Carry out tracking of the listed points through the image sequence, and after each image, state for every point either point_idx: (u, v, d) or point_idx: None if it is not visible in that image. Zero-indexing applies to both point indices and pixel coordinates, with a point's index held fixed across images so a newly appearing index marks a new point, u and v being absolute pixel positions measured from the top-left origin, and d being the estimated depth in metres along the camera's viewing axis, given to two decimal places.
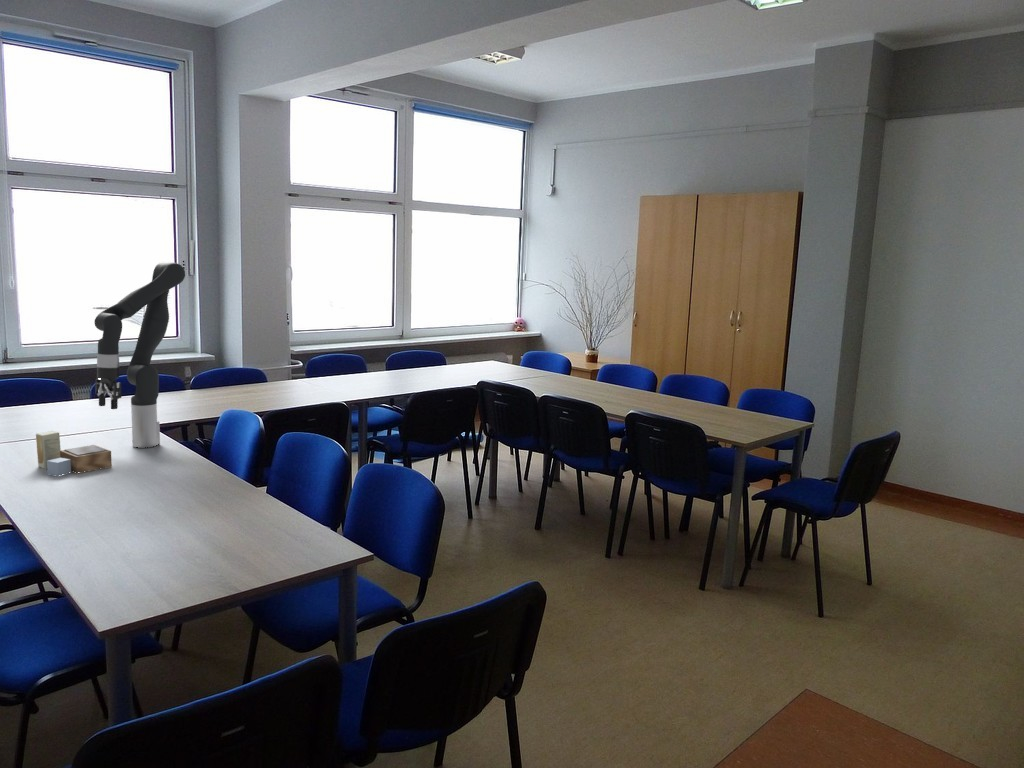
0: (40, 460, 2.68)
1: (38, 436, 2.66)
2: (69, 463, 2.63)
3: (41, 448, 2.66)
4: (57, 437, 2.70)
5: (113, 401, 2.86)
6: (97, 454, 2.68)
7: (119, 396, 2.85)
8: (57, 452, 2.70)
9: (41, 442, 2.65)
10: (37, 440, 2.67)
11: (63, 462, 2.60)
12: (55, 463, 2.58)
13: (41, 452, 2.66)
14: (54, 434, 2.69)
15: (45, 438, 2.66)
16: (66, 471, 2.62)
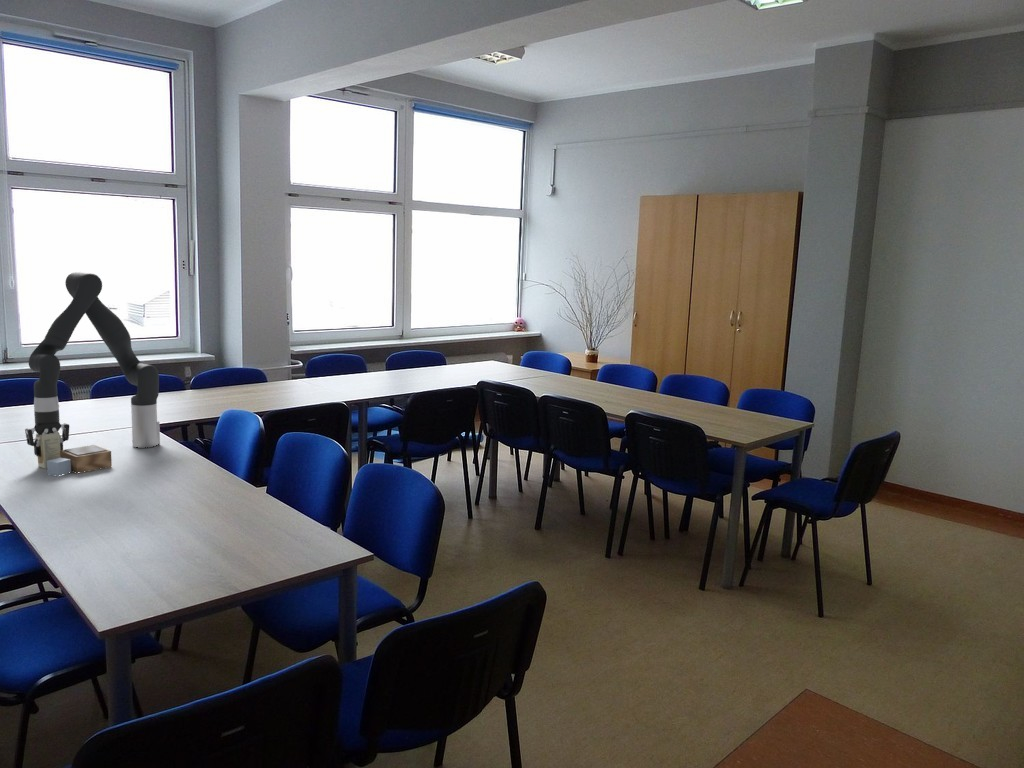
0: (40, 460, 2.68)
1: (38, 436, 2.66)
2: (70, 463, 2.63)
3: (41, 448, 2.66)
4: (57, 437, 2.70)
5: (62, 444, 2.72)
6: (97, 454, 2.68)
7: None
8: (57, 452, 2.70)
9: (41, 442, 2.65)
10: None
11: (63, 462, 2.60)
12: (55, 463, 2.58)
13: (41, 451, 2.66)
14: (54, 434, 2.69)
15: (45, 438, 2.66)
16: (66, 471, 2.62)
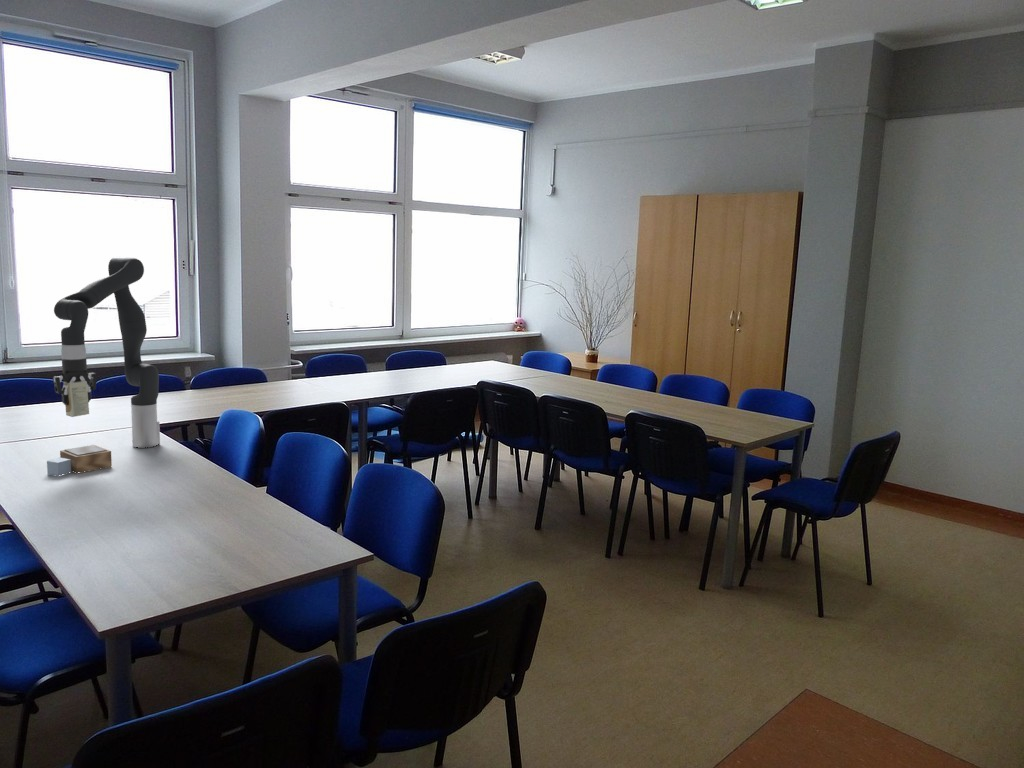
0: (68, 408, 2.66)
1: (66, 384, 2.64)
2: (70, 463, 2.63)
3: (68, 396, 2.64)
4: (85, 386, 2.67)
5: (89, 393, 2.70)
6: (97, 454, 2.68)
7: None
8: (85, 401, 2.68)
9: (69, 390, 2.63)
10: None
11: (63, 462, 2.60)
12: (55, 463, 2.58)
13: (69, 400, 2.64)
14: (81, 383, 2.66)
15: (73, 386, 2.64)
16: (66, 471, 2.62)
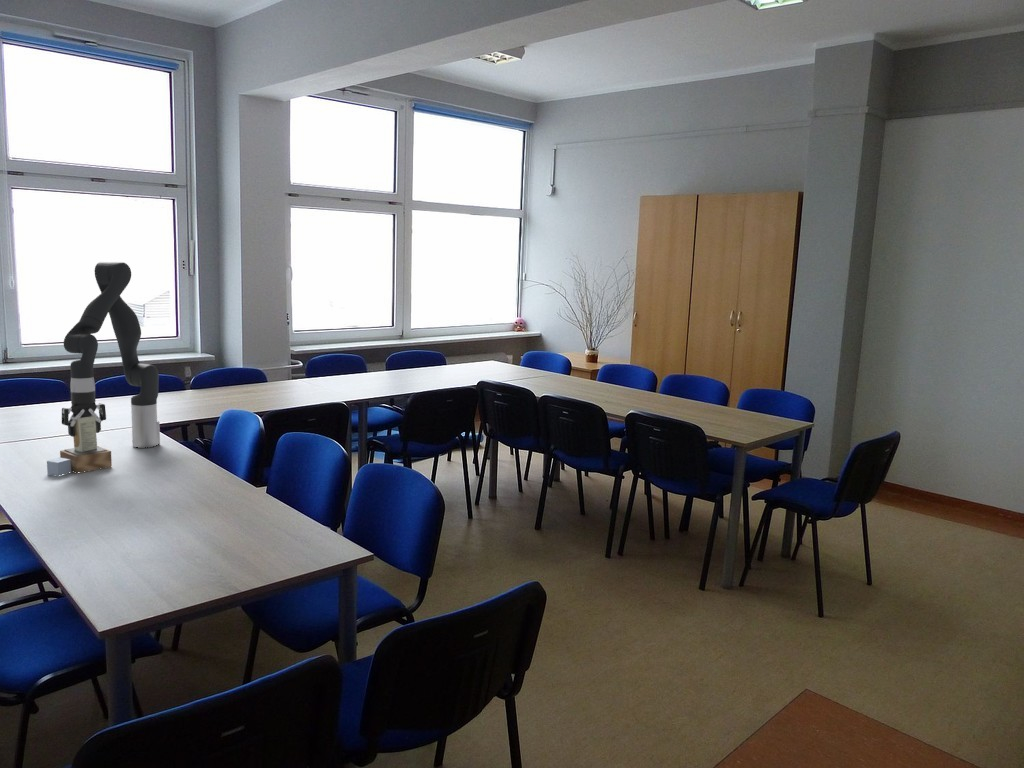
0: (76, 443, 2.67)
1: None
2: (69, 463, 2.63)
3: (77, 431, 2.66)
4: (93, 421, 2.69)
5: (99, 424, 2.72)
6: (97, 454, 2.68)
7: None
8: (93, 436, 2.70)
9: (77, 426, 2.65)
10: None
11: (63, 462, 2.60)
12: (55, 463, 2.58)
13: (77, 435, 2.66)
14: (90, 418, 2.68)
15: (81, 422, 2.66)
16: (66, 471, 2.62)
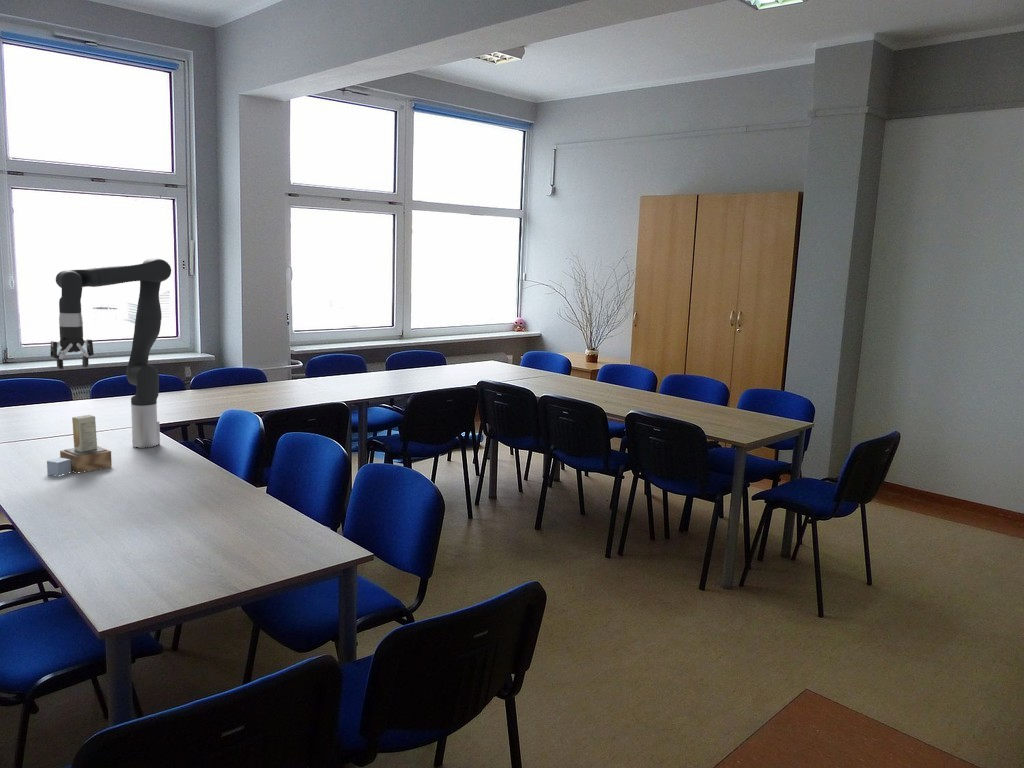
0: (76, 443, 2.67)
1: (74, 419, 2.66)
2: (70, 463, 2.63)
3: (77, 431, 2.66)
4: (93, 421, 2.69)
5: (87, 359, 2.85)
6: (97, 454, 2.68)
7: None
8: (93, 436, 2.70)
9: (77, 426, 2.65)
10: (73, 424, 2.67)
11: (63, 462, 2.60)
12: (55, 463, 2.59)
13: (77, 435, 2.66)
14: (90, 418, 2.68)
15: (81, 422, 2.66)
16: (66, 471, 2.62)
